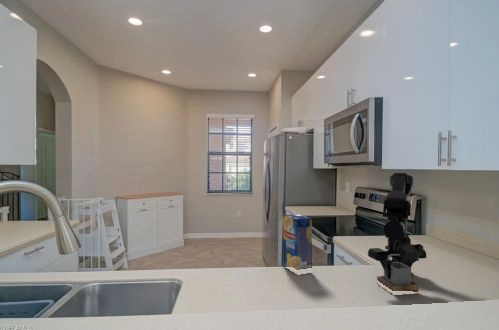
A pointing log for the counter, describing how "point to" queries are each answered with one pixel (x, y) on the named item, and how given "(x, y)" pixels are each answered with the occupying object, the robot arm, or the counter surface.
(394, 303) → the counter surface
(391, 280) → the grey plastic crate
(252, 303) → the counter surface
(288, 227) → the blue cardboard box
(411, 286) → the walnut crate
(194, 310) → the counter surface
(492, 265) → the counter surface
